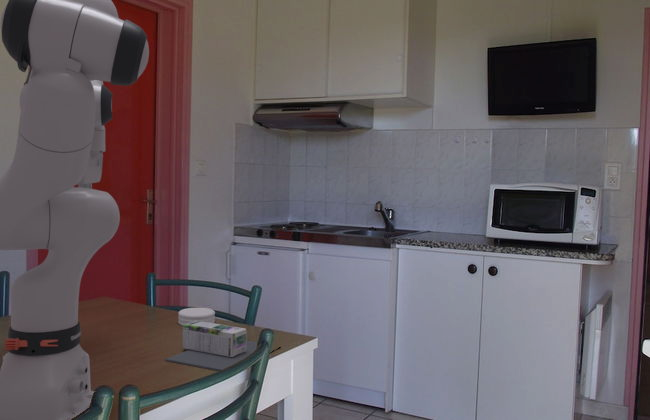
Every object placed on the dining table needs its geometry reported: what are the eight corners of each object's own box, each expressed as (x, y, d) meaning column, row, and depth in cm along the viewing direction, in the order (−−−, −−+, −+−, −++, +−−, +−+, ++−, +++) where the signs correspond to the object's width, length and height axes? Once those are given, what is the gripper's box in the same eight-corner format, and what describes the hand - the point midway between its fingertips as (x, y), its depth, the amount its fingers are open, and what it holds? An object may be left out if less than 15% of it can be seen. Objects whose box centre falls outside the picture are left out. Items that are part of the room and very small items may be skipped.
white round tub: (175, 320, 180) (175, 308, 180) (211, 318, 184) (211, 306, 184) (181, 329, 171) (181, 316, 171) (218, 326, 175) (218, 313, 174)
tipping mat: (165, 360, 142) (165, 359, 142) (222, 338, 162) (222, 336, 162) (229, 373, 135) (229, 371, 135) (281, 347, 155) (281, 346, 155)
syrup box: (197, 319, 155) (247, 327, 149) (197, 343, 156) (247, 352, 149) (181, 324, 150) (233, 332, 144) (182, 349, 151) (233, 358, 144)
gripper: (90, 141, 138) (90, 206, 139) (106, 144, 158) (106, 200, 159) (59, 141, 137) (59, 205, 138) (79, 144, 157) (80, 200, 158)
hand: (85, 203), depth 148 cm, fingers closed
